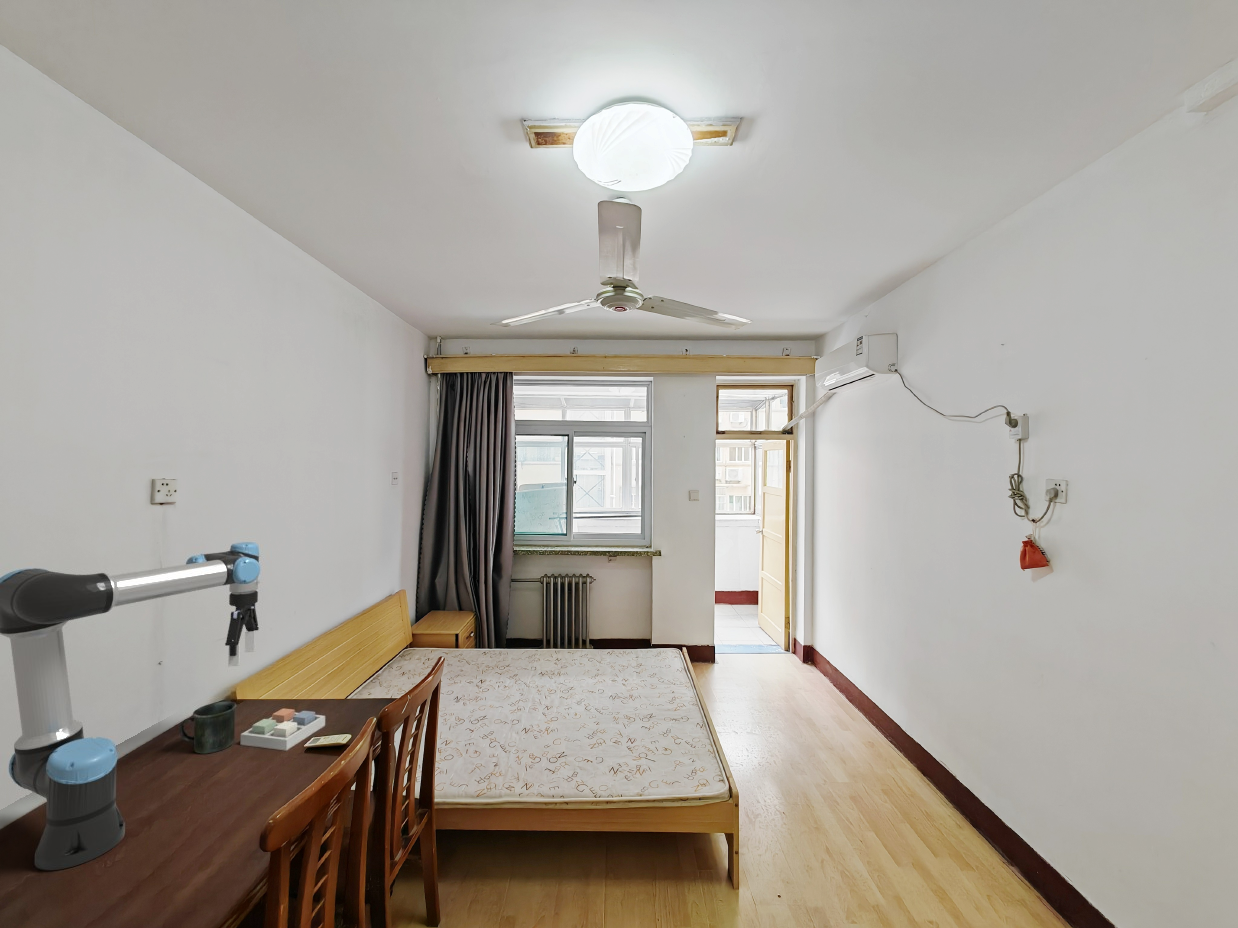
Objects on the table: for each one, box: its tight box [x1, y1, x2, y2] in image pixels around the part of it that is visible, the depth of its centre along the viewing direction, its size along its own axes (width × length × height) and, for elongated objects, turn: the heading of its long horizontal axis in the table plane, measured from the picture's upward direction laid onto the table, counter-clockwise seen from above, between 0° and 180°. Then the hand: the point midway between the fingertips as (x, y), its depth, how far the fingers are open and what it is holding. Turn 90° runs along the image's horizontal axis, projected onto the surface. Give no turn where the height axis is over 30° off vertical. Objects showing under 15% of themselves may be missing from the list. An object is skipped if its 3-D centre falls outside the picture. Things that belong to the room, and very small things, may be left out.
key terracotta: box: [271, 707, 296, 723], centre depth 188 cm, size 5×5×3 cm
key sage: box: [251, 718, 276, 734], centre depth 180 cm, size 5×5×3 cm
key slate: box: [293, 710, 316, 725], centre depth 187 cm, size 5×5×3 cm
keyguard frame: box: [240, 712, 326, 752], centre depth 183 cm, size 17×17×3 cm
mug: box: [179, 701, 237, 755], centre depth 175 cm, size 11×15×12 cm
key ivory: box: [274, 721, 297, 737], centre depth 179 cm, size 5×5×3 cm
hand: (242, 658), depth 176 cm, fingers open, 13 cm apart
